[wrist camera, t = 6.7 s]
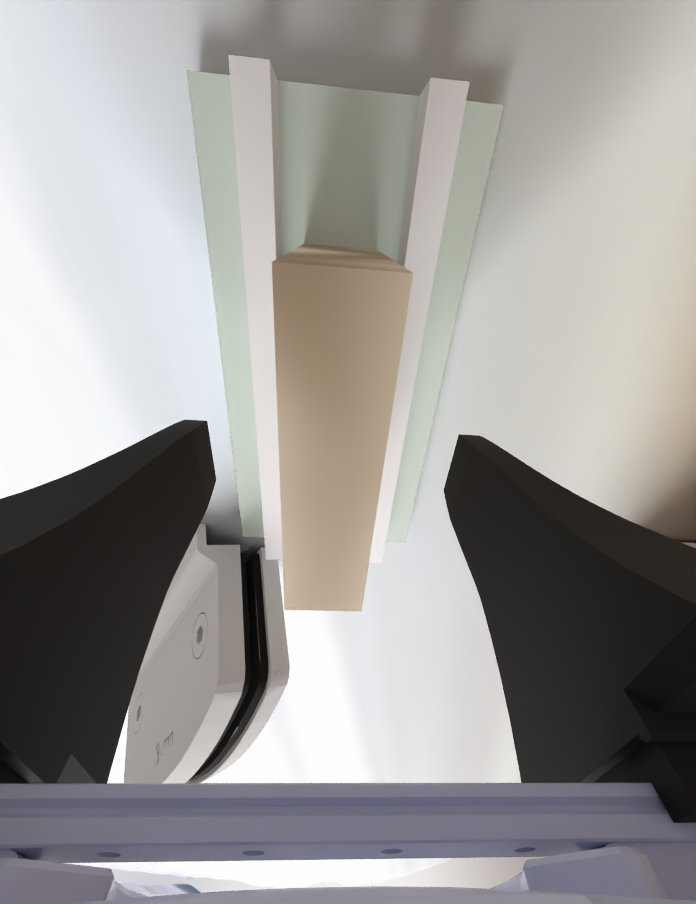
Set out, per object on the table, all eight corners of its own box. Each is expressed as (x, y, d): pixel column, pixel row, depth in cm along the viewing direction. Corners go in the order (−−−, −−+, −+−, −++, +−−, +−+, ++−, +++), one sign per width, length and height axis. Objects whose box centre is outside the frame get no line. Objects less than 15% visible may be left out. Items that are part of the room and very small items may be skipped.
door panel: (377, 249, 12) (413, 273, 6) (353, 481, 18) (361, 611, 12) (303, 243, 12) (271, 262, 6) (302, 479, 17) (284, 609, 12)
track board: (491, 113, 11) (527, 88, 9) (402, 529, 21) (410, 563, 19) (198, 82, 11) (164, 47, 9) (246, 524, 20) (236, 558, 18)
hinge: (199, 517, 20) (204, 732, 13) (274, 528, 23) (311, 709, 16) (116, 654, 27) (92, 838, 20) (181, 650, 30) (179, 810, 23)
